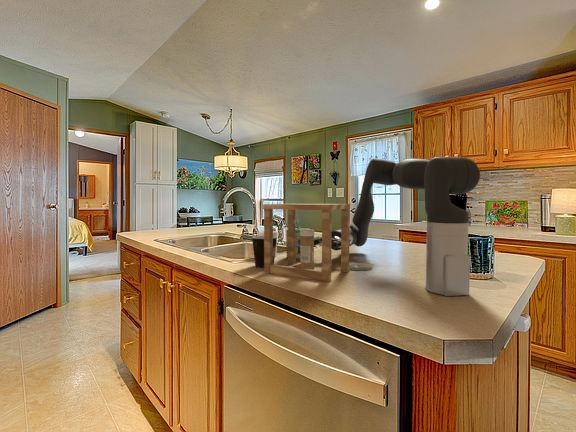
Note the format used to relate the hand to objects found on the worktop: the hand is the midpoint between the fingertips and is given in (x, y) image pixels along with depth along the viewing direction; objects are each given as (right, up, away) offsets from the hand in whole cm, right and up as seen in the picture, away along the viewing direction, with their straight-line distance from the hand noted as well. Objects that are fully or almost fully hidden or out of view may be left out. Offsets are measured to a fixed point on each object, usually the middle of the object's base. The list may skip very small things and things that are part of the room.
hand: (322, 244), depth 110 cm
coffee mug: (-21, -8, -1) cm, 22 cm away
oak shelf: (-6, -8, -9) cm, 13 cm away
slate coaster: (+12, -8, -2) cm, 14 cm away
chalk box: (-7, -7, +15) cm, 18 cm away
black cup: (-20, -7, +20) cm, 29 cm away
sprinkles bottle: (-6, -8, -9) cm, 13 cm away
